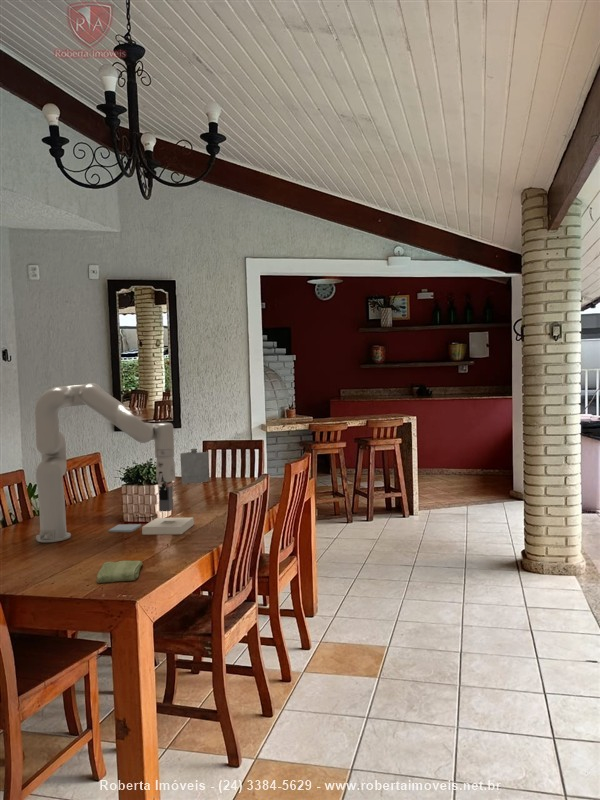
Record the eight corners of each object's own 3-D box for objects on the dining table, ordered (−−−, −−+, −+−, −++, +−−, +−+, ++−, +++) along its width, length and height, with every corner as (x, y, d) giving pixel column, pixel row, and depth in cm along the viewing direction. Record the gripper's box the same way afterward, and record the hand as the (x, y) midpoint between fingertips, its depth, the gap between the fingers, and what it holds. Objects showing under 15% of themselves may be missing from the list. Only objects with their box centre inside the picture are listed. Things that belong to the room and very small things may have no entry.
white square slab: (181, 534, 259) (181, 526, 259) (142, 534, 261) (142, 527, 261) (193, 524, 275) (193, 517, 275) (156, 524, 277) (156, 517, 277)
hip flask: (209, 482, 382) (208, 447, 382) (209, 483, 378) (207, 448, 378) (182, 483, 382) (180, 448, 381) (181, 484, 378) (179, 449, 377)
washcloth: (144, 565, 219) (143, 556, 219) (137, 582, 202) (137, 571, 202) (103, 569, 218) (102, 559, 218) (93, 586, 200) (92, 575, 200)
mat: (131, 532, 266) (131, 530, 266) (108, 532, 268) (108, 530, 268) (141, 526, 276) (141, 524, 276) (118, 526, 277) (118, 524, 277)
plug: (169, 511, 265) (168, 484, 265) (159, 511, 266) (158, 484, 265) (173, 509, 269) (172, 482, 269) (163, 509, 270) (162, 482, 270)
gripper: (166, 456, 258) (167, 502, 259) (180, 450, 274) (181, 494, 275) (147, 456, 259) (149, 502, 260) (162, 451, 276) (164, 494, 276)
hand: (165, 498), depth 267 cm, fingers closed on plug, 4 cm apart
